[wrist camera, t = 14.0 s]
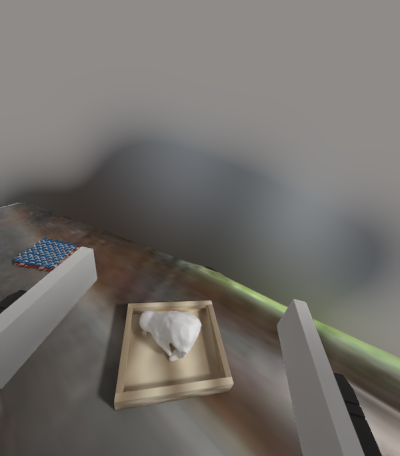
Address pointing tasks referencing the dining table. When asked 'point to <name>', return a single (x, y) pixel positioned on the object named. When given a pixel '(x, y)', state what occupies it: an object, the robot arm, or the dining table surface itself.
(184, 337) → the white rounded lump
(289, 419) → the dining table surface
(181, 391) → the birch tray
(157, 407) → the dining table surface
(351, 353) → the dining table surface
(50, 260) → the woven mat
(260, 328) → the dining table surface
